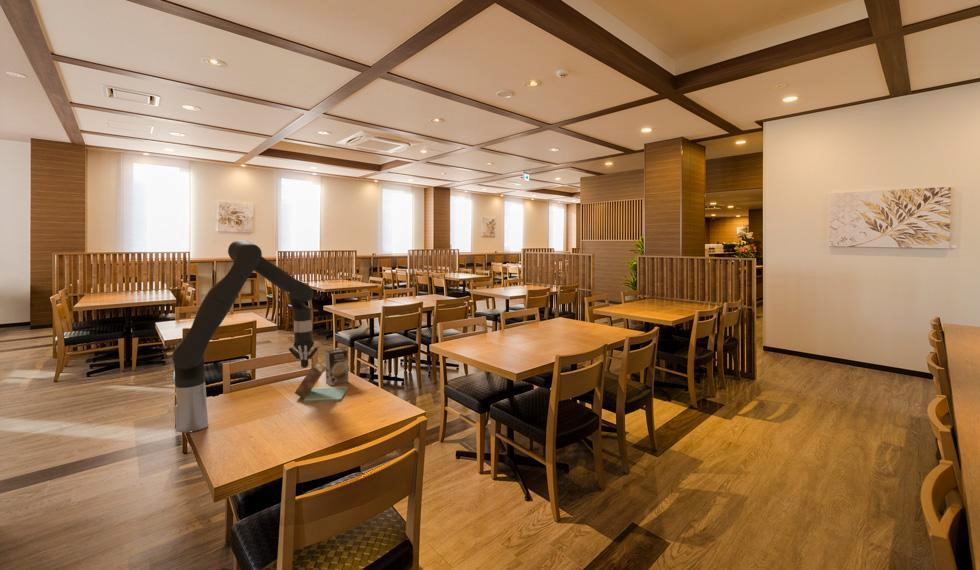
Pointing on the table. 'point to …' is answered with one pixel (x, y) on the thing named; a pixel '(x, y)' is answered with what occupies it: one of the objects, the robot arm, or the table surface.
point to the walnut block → (310, 380)
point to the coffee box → (336, 366)
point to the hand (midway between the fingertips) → (305, 367)
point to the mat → (325, 394)
